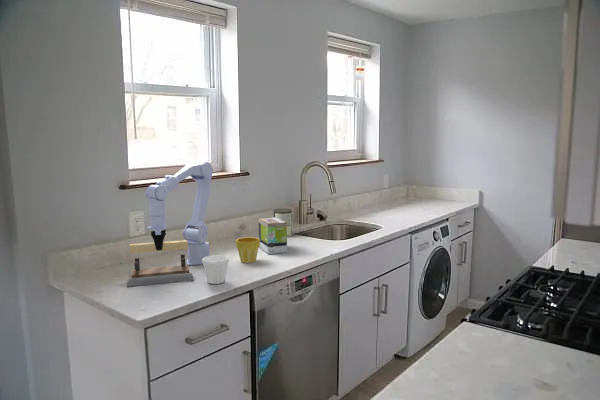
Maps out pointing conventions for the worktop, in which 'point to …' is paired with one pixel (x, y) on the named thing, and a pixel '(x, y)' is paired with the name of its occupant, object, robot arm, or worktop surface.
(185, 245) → the brass rail
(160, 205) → the robot arm
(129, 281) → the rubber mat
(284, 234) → the tea box
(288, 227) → the coffee can
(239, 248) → the plant pot
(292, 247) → the worktop surface
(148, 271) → the hook rack
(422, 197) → the worktop surface
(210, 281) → the cup
